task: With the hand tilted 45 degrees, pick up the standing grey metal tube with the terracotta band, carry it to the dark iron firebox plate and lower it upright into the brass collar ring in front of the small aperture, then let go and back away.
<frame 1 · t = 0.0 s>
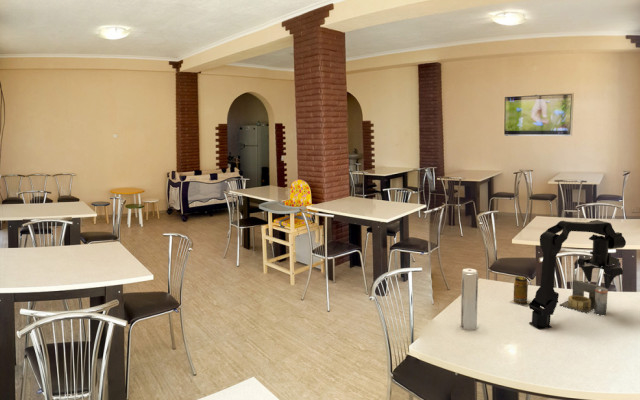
hand: (598, 285, 202), 15 cm above the table, tool pointing down, fingers open, 9 cm apart
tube: (600, 313, 208), on the table
collar stand: (579, 306, 217), on the table
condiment: (521, 302, 223), on the table
silver cylinder: (468, 327, 198), on the table
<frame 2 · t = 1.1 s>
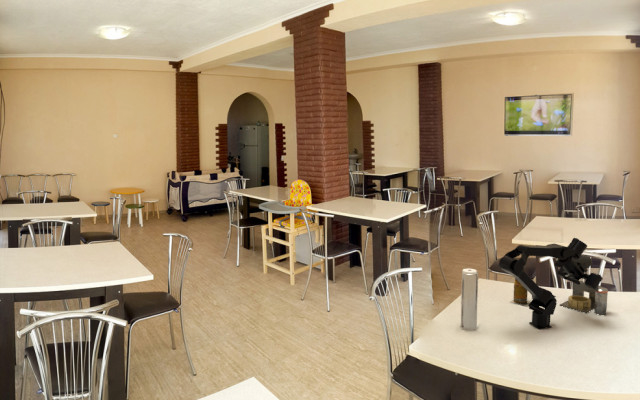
hand: (588, 287, 203), 13 cm above the table, tool tilted 45°, fingers open, 9 cm apart
nothing on the table moved.
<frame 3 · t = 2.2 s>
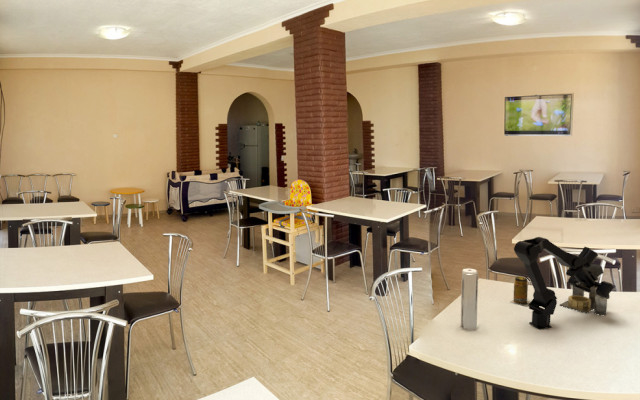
hand: (599, 294, 206), 9 cm above the table, tool tilted 45°, fingers open, 9 cm apart
nothing on the table moved.
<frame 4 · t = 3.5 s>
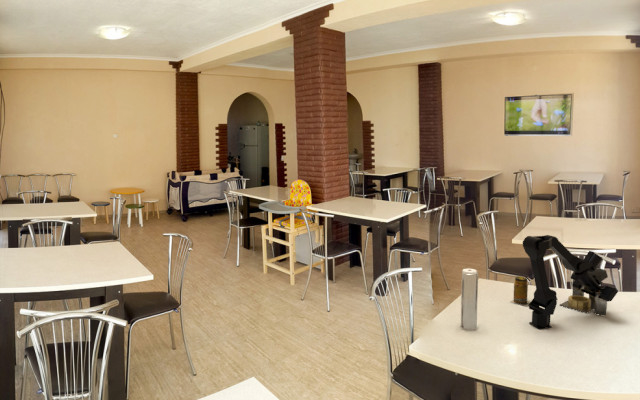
hand: (603, 298, 207), 7 cm above the table, tool tilted 45°, fingers closed on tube, 5 cm apart
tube: (600, 313, 208), on the table, touching gripper
everything else where it was.
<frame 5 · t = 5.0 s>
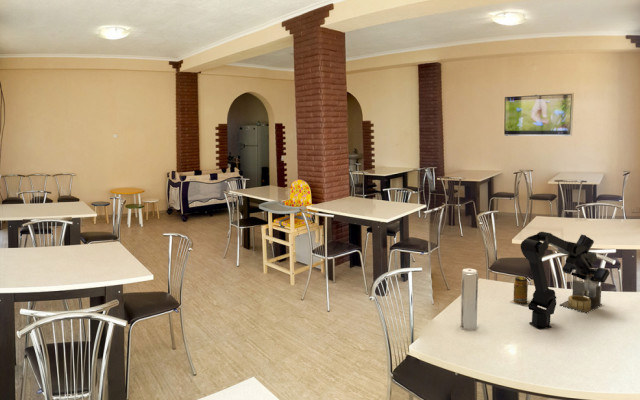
hand: (592, 281, 212), 13 cm above the table, tool tilted 45°, fingers closed on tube, 5 cm apart
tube: (589, 295, 212), point 6 cm above the table, touching gripper
everything else where it was.
when the fingers open (8 cm above the table, at t = 6.6 s): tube stays where it is, resting on collar stand.
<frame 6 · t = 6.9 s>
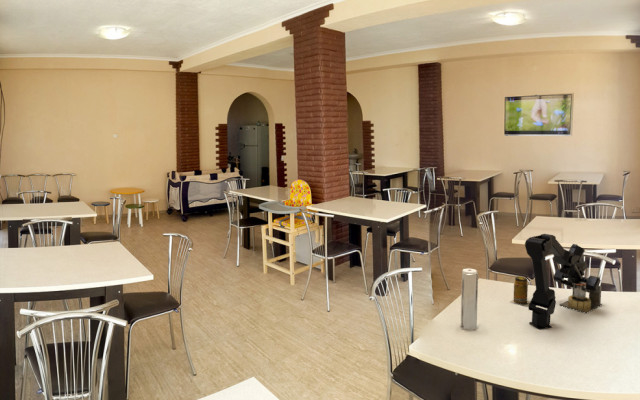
hand: (581, 288, 216), 8 cm above the table, tool tilted 45°, fingers open, 8 cm apart
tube: (579, 304, 217), point 1 cm above the table, touching collar stand
everything else where it was.
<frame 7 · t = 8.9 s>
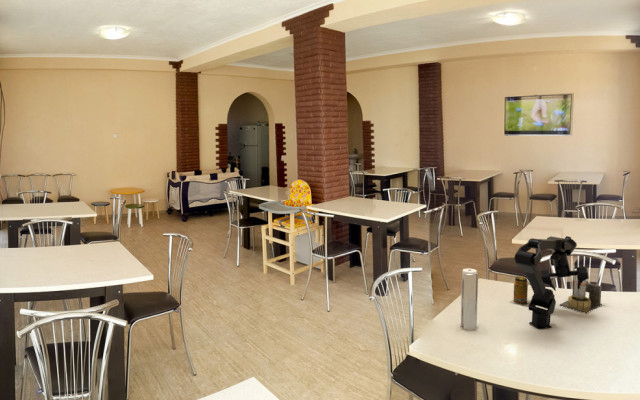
hand: (566, 289, 209), 11 cm above the table, tool tilted 25°, fingers open, 9 cm apart
nothing on the table moved.
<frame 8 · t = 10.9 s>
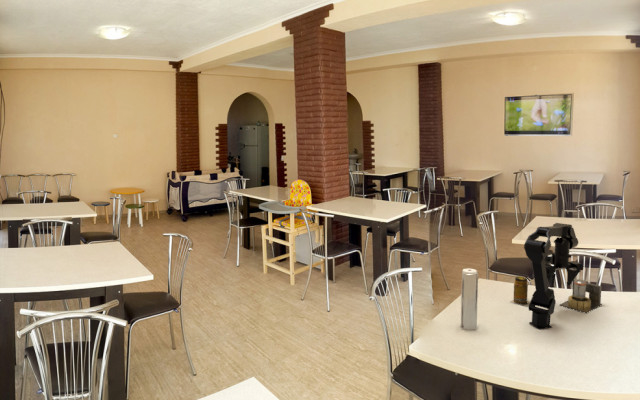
hand: (560, 286, 207), 13 cm above the table, tool pointing down, fingers open, 9 cm apart
nothing on the table moved.
at the end: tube 0.1 cm from the collar stand (horizontally); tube tilted 1°; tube point 0.6 cm above the table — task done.
